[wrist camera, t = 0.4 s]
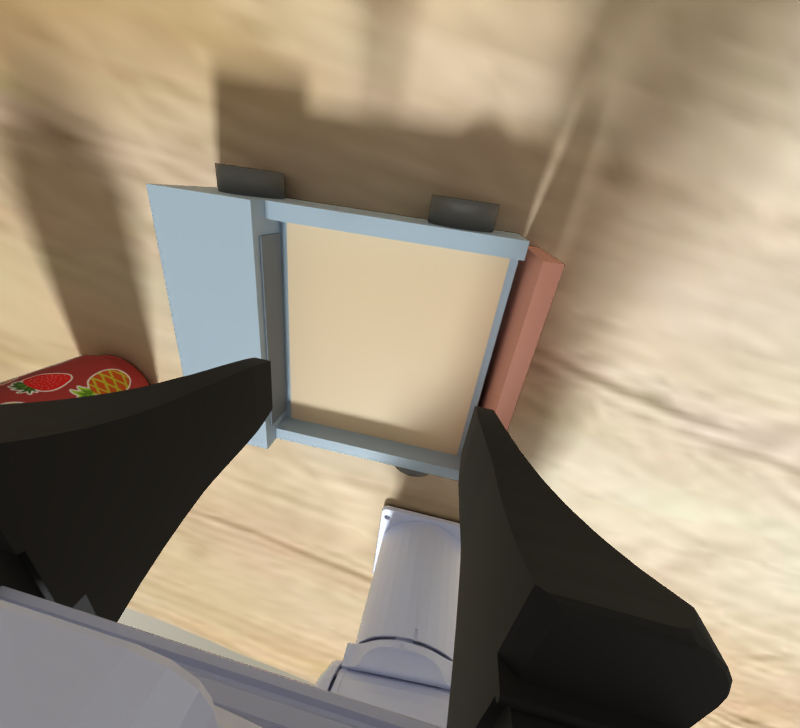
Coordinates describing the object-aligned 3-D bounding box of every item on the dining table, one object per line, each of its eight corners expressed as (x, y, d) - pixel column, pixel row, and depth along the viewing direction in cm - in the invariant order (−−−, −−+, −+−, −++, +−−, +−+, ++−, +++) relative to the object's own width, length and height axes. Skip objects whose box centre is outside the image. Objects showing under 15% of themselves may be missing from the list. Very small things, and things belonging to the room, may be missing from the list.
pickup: (457, 453, 24) (455, 509, 20) (241, 404, 26) (195, 445, 22) (524, 208, 17) (544, 210, 12) (215, 163, 19) (137, 151, 14)
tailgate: (479, 439, 23) (482, 501, 19) (468, 437, 24) (468, 498, 19) (538, 247, 18) (564, 264, 13) (522, 244, 18) (543, 261, 13)
